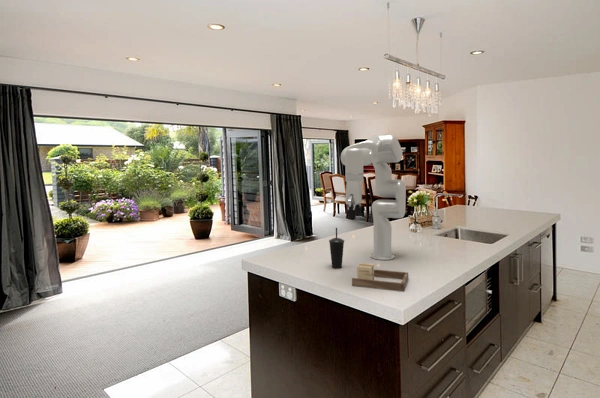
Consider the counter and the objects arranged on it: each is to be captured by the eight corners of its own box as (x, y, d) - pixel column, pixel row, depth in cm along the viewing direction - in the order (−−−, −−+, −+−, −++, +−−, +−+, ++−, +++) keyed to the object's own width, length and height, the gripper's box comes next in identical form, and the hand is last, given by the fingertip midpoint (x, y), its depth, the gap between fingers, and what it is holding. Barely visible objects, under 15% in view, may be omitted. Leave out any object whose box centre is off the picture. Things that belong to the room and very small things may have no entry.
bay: (361, 274, 168) (360, 268, 168) (408, 279, 160) (408, 272, 160) (352, 285, 153) (352, 278, 153) (403, 291, 145) (403, 284, 145)
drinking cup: (343, 264, 185) (343, 226, 183) (345, 269, 177) (345, 228, 175) (328, 265, 184) (327, 226, 182) (330, 269, 177) (329, 229, 175)
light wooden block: (360, 278, 163) (360, 262, 162) (373, 279, 161) (373, 264, 160) (357, 282, 158) (357, 266, 157) (371, 283, 155) (371, 267, 155)
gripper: (350, 177, 163) (351, 214, 165) (340, 178, 147) (340, 220, 149) (367, 176, 160) (367, 215, 162) (358, 178, 144) (358, 221, 146)
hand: (354, 217), depth 155 cm, fingers open, 9 cm apart
